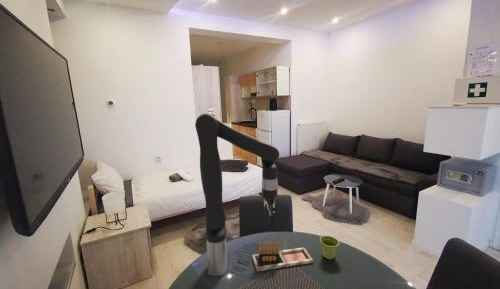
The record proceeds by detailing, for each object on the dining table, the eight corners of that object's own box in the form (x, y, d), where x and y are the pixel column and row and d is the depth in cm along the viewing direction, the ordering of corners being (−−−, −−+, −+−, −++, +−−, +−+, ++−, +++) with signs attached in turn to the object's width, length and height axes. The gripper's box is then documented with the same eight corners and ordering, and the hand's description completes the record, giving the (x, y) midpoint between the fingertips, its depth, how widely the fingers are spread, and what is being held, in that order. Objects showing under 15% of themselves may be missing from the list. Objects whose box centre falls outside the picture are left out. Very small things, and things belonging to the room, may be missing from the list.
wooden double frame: (256, 271, 112) (256, 268, 111) (252, 257, 122) (252, 254, 121) (313, 262, 118) (313, 259, 117) (304, 249, 127) (304, 247, 127)
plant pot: (335, 250, 127) (336, 236, 125) (340, 262, 118) (341, 246, 116) (317, 249, 128) (318, 235, 126) (321, 261, 119) (322, 245, 117)
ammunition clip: (258, 263, 117) (258, 241, 115) (258, 260, 119) (258, 239, 117) (279, 263, 117) (280, 241, 115) (279, 260, 119) (279, 239, 117)
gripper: (258, 182, 117) (258, 212, 120) (266, 193, 103) (266, 226, 106) (272, 180, 118) (272, 210, 121) (282, 191, 104) (281, 224, 108)
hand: (269, 218), depth 114 cm, fingers open, 8 cm apart
